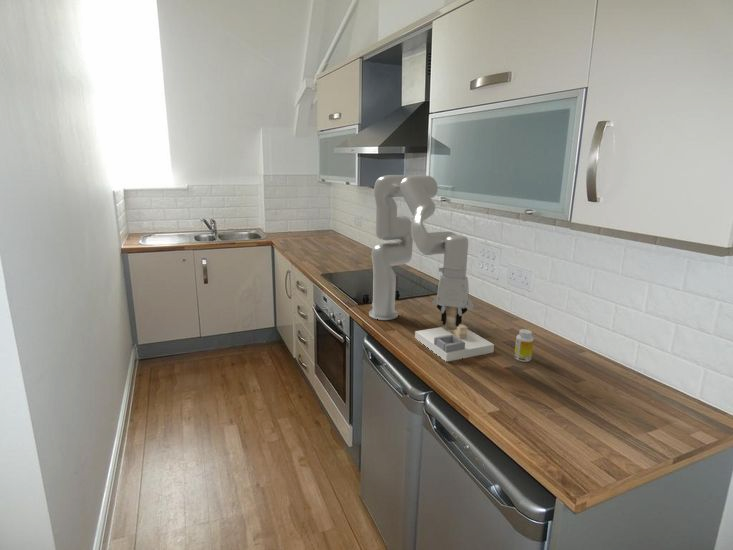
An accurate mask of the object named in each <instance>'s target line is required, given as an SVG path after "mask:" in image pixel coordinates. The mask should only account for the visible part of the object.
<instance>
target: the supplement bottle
mask: <svg viewBox="0 0 733 550" xmlns="http://www.w3.org/2000/svg"><path fill="white" fill-rule="evenodd" d="M534 341H535V340H534V337H533V332H532V331H531V330H529V329H526V328H523V329H519V333H518V334H517V335H516V339H515V348H514V354H513V355H514V358H515V360H516V361H519V362H524V363H525V362H526V363H527V362H530V361H531V360H532V356H533V355H532V354H533V348H534V347H533V346H534Z"/></svg>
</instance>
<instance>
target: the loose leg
mask: <svg viewBox="0 0 733 550" xmlns="http://www.w3.org/2000/svg"><path fill="white" fill-rule="evenodd" d="M457 315H458V308H456V307H448V306H446V319H445V324H444V327H445V328H446V329H448V330H456V329H457V326H456V320H457Z"/></svg>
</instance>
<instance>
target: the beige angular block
mask: <svg viewBox="0 0 733 550" xmlns="http://www.w3.org/2000/svg"><path fill="white" fill-rule="evenodd" d="M468 328H469V327H468V326H466V325H464V324H463V323H462V322H461V324H459V326H458V327H457V329H456V330H448V329H447V330H448V331H450V332H451V333H452V334H454V335H455V336H457V337H458V338H467V329H468ZM445 329H446V328H445ZM468 330H469V329H468Z"/></svg>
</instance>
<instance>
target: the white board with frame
mask: <svg viewBox="0 0 733 550" xmlns="http://www.w3.org/2000/svg"><path fill="white" fill-rule="evenodd" d="M415 338H416V339H417V340H418V341H417V340H416V339H415ZM414 339H415V340H416V341H417V342H419V341H420V342H421V343H422V344H421V343H420V342H419V343H420V344H421V345H423V344H424V345H425V346H426V347H425V346H424V345H423V346H424V347H425V348H427V347H428V348H429V349H428V348H427V349H428V350H429V351H431V350H432V351H433V352H432V351H431V352H432V353H434V354H435V355H436V354H437V355H436V356H438V357H439V356H440V357H441V358H440V357H439V358H440V359H442V360H443V361H444V360H445V362H446V361H447V362H452V361H458V360H462V358H463V359H466V358H467V359H468V358H472V357H473V358H474V357H478V356H481V355H487V354H492V353H494V352H495V351H494V350H495V344H494V343H492V342H490V341H488V340H487V339H486V338H484V337H482V336H480V335H479V334H477V333H475V332H473V331H471V330H470V329H467V338H458V337H457V336H455V335H454V334H452V333H451V332H450V331H448V330H447V329H445V326H439V327H433V328H428V329H420V330H415V331H414Z"/></svg>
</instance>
